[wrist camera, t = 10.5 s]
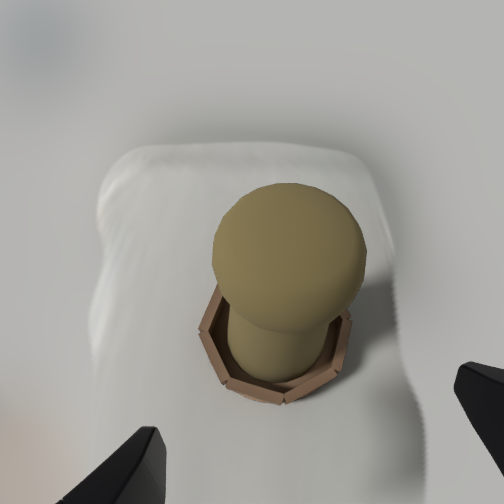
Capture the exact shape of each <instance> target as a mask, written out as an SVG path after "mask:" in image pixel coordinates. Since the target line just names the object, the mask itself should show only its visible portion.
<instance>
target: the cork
mask: <svg viewBox="0 0 504 504" xmlns="http://www.w3.org/2000/svg"><path fill="white" fill-rule="evenodd" d="M366 255H367V249H366V245H365V241H364V237H363V234H362V231H361V229H360V226H359V224H358V223H357V221H356V220H355V218H354V217H353V215H352V214H351V212H350V211H349V209H348V208H347V207H346V206H345V205H343V204H342V203H341V202H340V201H339V200H337V199H336V198H335V197H334V196H332V195H330V194H328V193H326V192H324V191H322V190H320V189H318V188H316V187H311V186H307V185H302V184H298V183H277V184H273V185H269V186H265V187H261V188H258V189H256V190H254V191H252V192H250V193H249V194H247V195H245V196H243V197H242V198H241V199H240V200H239V201H238V202H237V203H236V204H235V205H234V206H233V207H232V208H231V209H230V210H229V211H228V212H227V213H226V214H225V215H224V216H223V218H222V220H221V223H220V225H219V227H218V229H217V231H216V234H215V237H214V242H213V256H212V266H213V270H214V273H215V276H216V279H217V282H218V285H219V288H220V291H221V294H222V295H223V297H224V298H225V299H226V301H227V302H228V303H229V304H230V312H229V321H228V341H227V344H228V347H229V350H230V353H231V356H232V359H233V360H234V361H235V363H236V364H237V365H238V366H239V368H240V369H241V370H242V371H243V372H245V373H246V374H248V375H249V376H251V377H252V378H254V379H256V380H260V381H263V382H267V383H287V382H289V381H292V380H294V379H297V378H300V377H302V376H303V375H304V374H305V373H307V372H308V371H309V370H310V369H312V368H313V367H314V365H315V364H316V362H317V360H318V359H319V357H320V356H321V353H322V350H323V346H324V342H325V339H326V335H327V331H328V327H329V323H330V322H332V321H333V320H334V319H335V318H336V317H338V316H339V315H340V314H341V313H342V312H343V311H344V310H345V309H347V308H348V307H349V305H350V304H351V303H352V301H353V300H354V298H355V296H356V294H357V292H358V290H359V288H360V286H361V285H362V283H363V281H364V274H365V265H366Z"/></svg>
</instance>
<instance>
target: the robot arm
mask: <svg viewBox="0 0 504 504" xmlns="http://www.w3.org/2000/svg"><path fill="white" fill-rule="evenodd" d="M454 392H455V394H456V396H457V398H458V399H459V401H460V403H461V405H462V407H463V409H464V411H465V413H466V415H467V417H468V419H469V421H470V422H471V424H472V426H473V428H474V429H475V431H476V432H477V434H478V435H479V437H480V439H481V440H482V442H483V443H484V445H485V446H486V448H487V449H488V451H489V453H490V454H491V456H492V458H493V459H494V461H495V463H496V464H497V466H498V468H499V469H500V471H501V473H502V474H503V476H504V369H500V368H496V367H491V366H487V365H483V364H479V363H475V362H467V363H465V364H462V365H461V366H460V367H459V369H458V372H457V376H456V380H455V383H454ZM165 495H166V446H165V444H164V442H163V439H162V437H161V435H160V432H159V430H158V429H157V428H156V427H154V426H143V427H141V428H139V429H138V430H137V431H136V432H135V433H134V434H133V435H132V436H131V437H130V438H129V439H128V440H127V441H126V442H125V443H123V444H122V445H121V446H120V447H119V448H118V449H117V450H116V451H115V452H114V453H113V454H112V455H111V456H109V457H108V458H107V459H106V460H105V461H104V462H103V463H102V464H101V465H100V466H98V467H97V468H96V469H95V470H94V471H93V472H92V473H91V474H89V475H88V476H87V477H86V478H85V479H84V480H83V481H82V482H80V483H79V484H78V485H77V486H76V487H75V488H74V489H72V490H71V491H70V492H69V493H68V494H67V495H65V496H64V497H63V500H59V501H58V502H57V503H56V504H165Z"/></svg>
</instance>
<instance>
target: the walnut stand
mask: <svg viewBox="0 0 504 504" xmlns="http://www.w3.org/2000/svg"><path fill="white" fill-rule="evenodd" d="M229 312H230V304H229V303H228V302H227V301H226V299H225V298H224V297H223V295H222V294H221V291H220V288H219V285H218V284H217V286H216V288H215V291H214V293H213V295H212V298H211V300H210V302H209V305H208V307H207V309H206V311H205V314H204V316H203V318H202V321H201V323H200V326H199V328H198V329H199V331H200V332H201V333H199V337H200V339H201V341H202V343H203V346H204V348H205V350H206V352H207V354H208V357H209V360H210V362H211V364H212V366H213V368H214V370H215V372H216V374H217V376H218V378H219V380H220V382H221V383H222V384H223V385H225V384H226V386H225V387H226V388H227V389H229V390H232V391H235V392H237V393H239V394H240V395H242V396H244V397H246V398H249V399H252V400H255V401H259V402H264V403H273V404H277V405H281V404H282V403H285V404H288V403H290V402H292V401H294V400H297V399H300V398H302V397H305V396H307V395H309V394H310V393H312V392H314V391H315V390H317V389H318V388H319V387H321V386H322V385H323V384H325V383H327V382H328V381H330V380H332V379H333V378H335V377H336V376H337V374H338V373H339V372H340V371H341V369H342V365H343V361H344V357H345V352H346V348H347V344H348V339H349V334H350V330H351V325H352V321H351V320H348V319H349V318H350V317H351V314H350V313H349V311H348V310H347V309H345V310H344V311H343V312H342V313H341V314H340V315H339V316H338V317H336V318H335V319H334V320H333V321H332V322H330V323H329V327H328V331H327V335H326V339H325V342H324V346H323V350H322V353H321V356H320V357H319V359H318V360H317V362H316V364H315V365H314V367H313V368H312V369H310V370H309V371H308V372H307V373H305V374H304V375H303V376H302V377H300V378H297V379H294V380H292V381H289V382H287V383H267V382H263V381H260V380H256V379H254V378H252V377H251V376H249V375H248V374H246V373H245V372H243V371H242V370H241V369H240V368H239V366H238V365H237V364H236V363H235V361H234V360H233V359H232V356H231V353H230V350H229V347H228V344H227V341H228V321H229Z"/></svg>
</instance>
